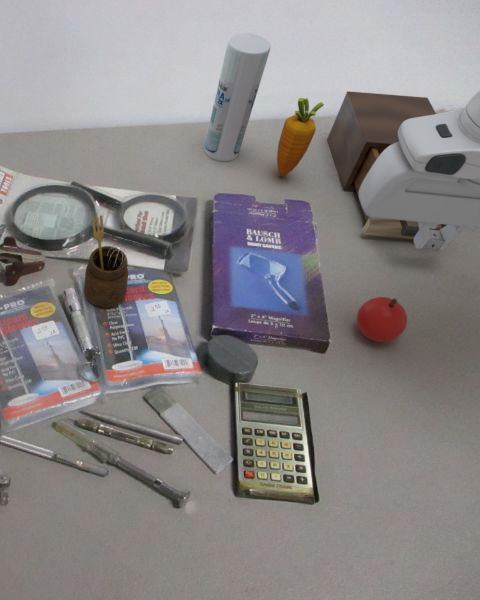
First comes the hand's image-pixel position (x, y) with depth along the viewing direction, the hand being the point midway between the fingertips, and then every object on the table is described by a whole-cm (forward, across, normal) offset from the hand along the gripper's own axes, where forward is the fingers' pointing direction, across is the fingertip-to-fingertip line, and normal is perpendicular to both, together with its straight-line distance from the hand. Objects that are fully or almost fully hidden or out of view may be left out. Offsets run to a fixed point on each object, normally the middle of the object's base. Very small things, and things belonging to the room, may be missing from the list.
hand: (427, 246), depth 69 cm
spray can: (+16, +18, -38) cm, 45 cm away
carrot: (+16, +8, -32) cm, 37 cm away
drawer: (+15, -9, -23) cm, 29 cm away
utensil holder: (+17, +37, -2) cm, 40 cm away
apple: (+16, 0, +1) cm, 16 cm away
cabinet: (+16, -9, -38) cm, 42 cm away
